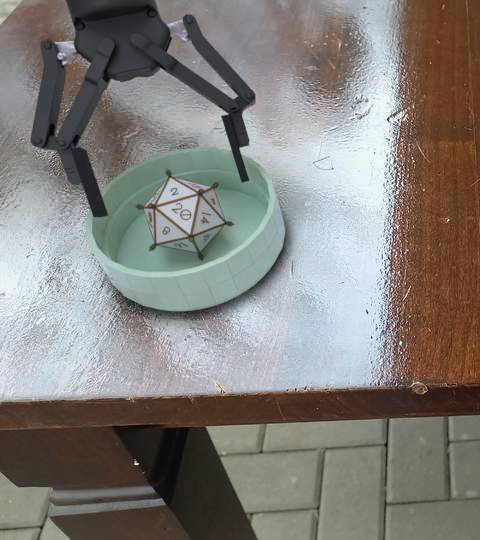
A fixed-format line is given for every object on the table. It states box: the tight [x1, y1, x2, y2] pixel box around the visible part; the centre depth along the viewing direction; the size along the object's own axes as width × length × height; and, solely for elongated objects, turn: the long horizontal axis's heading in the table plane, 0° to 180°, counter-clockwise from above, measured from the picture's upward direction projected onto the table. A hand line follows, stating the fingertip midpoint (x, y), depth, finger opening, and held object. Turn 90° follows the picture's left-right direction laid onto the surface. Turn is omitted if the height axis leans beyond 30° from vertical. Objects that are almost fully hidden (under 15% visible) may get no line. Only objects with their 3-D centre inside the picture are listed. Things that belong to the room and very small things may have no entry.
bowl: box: [84, 147, 286, 312], centre depth 72 cm, size 18×18×6 cm
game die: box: [135, 169, 235, 261], centre depth 70 cm, size 9×8×10 cm
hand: (175, 198), depth 68 cm, fingers open, 13 cm apart
